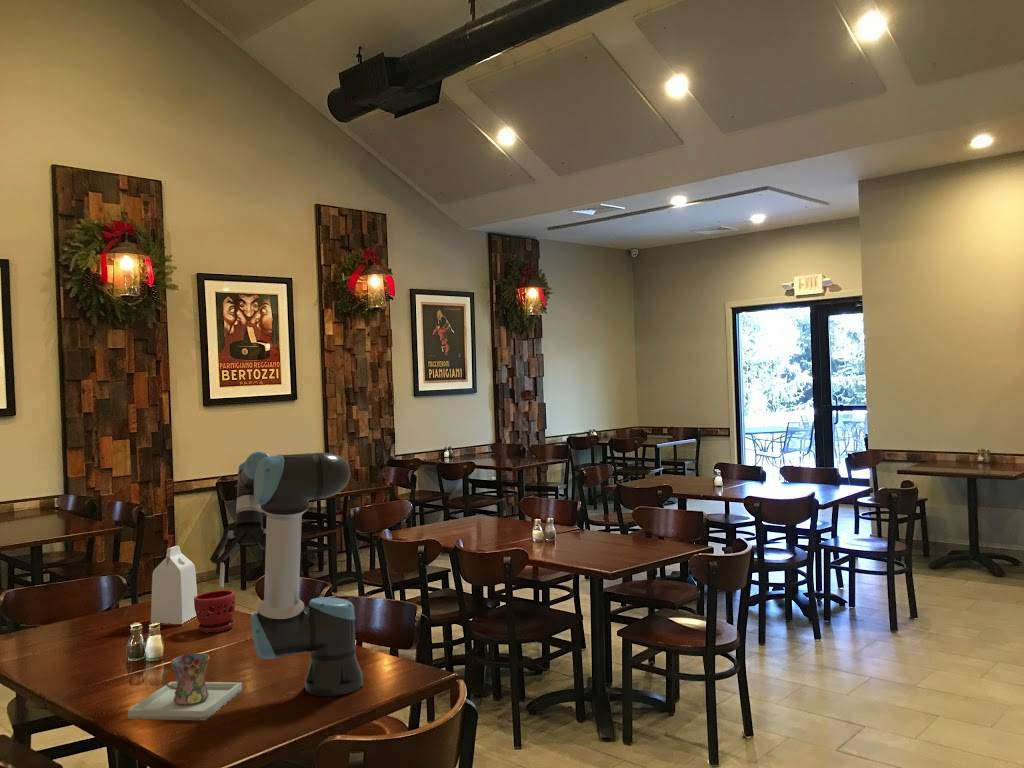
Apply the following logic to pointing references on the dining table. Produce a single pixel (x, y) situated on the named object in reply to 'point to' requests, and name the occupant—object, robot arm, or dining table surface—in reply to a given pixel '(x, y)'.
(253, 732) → the dining table surface
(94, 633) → the dining table surface
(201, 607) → the plant pot
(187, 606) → the milk
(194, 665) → the mug
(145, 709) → the tray
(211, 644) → the dining table surface
